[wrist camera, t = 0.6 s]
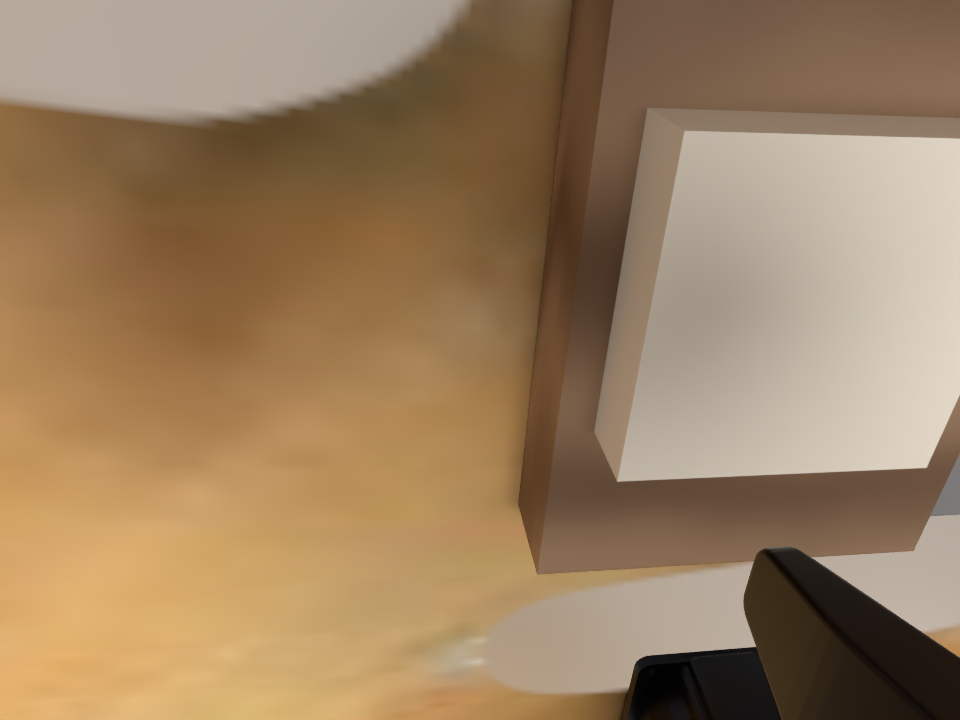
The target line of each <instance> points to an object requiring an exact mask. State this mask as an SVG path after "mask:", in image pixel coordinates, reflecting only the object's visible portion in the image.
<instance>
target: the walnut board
mask: <svg viewBox="0 0 960 720" xmlns="http://www.w3.org/2000/svg"><path fill="white" fill-rule="evenodd" d="M647 108H672V109H702V110H732V111H762V112H793V113H823V114H853V115H883V116H913V117H944V118H960V0H573V7H572V16H571V25H570V34H569V43H568V53H567V62H566V71H565V80H564V90H563V99H562V108H561V117H560V126H559V136H558V145H557V154H556V163H555V173H554V182H553V191H552V200H551V209H550V219H549V228H548V237H547V246H546V256H545V265H544V274H543V283H542V292H541V302H540V311H539V320H538V329H537V339H536V348H535V357H534V366H533V375H532V385H531V394H530V403H529V412H528V422H527V431H526V440H525V449H524V458H523V468H522V477H521V486H520V495H519V509H520V512H521V516H522V520H523V523H524V527H525V531H526V535H527V538H528V542H529V546H530V549H531V553H532V557H533V561H534V564H535V568H536V572H537V574H553V573H569V572H585V571H601V570H617V569H633V568H649V567H664V566H680V565H696V564H712V563H728V562H744V561H754V560H755V557H756V554H757V553H758V552H759V551H760V550H761V549H763V548H770V547H783V546H791V547H795V548H797V549H799V550H801V551H802V552H804V553H805V554H807V555H808V556H810V557H824V556H838V555H839V556H840V555H856V554H872V553H888V552H902V551H913V550H914V548H915V546H916V544H917V542H918V540H919V538H920V536H921V534H922V532H923V530H924V527H925V525H926V523H927V521H928V519H929V517H930V515H931V513H932V511H933V509H934V507H935V504H936V502H937V500H938V498H939V496H940V494H941V492H942V490H943V488H944V486H945V483H946V481H947V479H948V477H949V475H950V473H951V471H952V469H953V467H954V465H955V462H956V460H957V458H958V456H959V454H960V395H959V398H958V400H957V402H956V404H955V406H954V409H953V411H952V413H951V415H950V417H949V420H948V422H947V424H946V426H945V428H944V431H943V433H942V435H941V437H940V439H939V442H938V444H937V446H936V448H935V450H934V453H933V455H932V457H931V459H930V461H929V464H928V466H927V468H913V469H890V470H868V471H846V472H823V473H801V474H778V475H756V476H733V477H711V478H688V479H666V480H644V481H621V482H617V480H616V478H615V476H614V474H613V471H612V469H611V467H610V465H609V463H608V460H607V458H606V456H605V454H604V452H603V450H602V447H601V445H600V443H599V441H598V439H597V437H596V434H595V432H594V430H595V423H596V417H597V411H598V405H599V399H600V393H601V387H602V381H603V375H604V369H605V363H606V357H607V351H608V345H609V338H610V332H611V326H612V320H613V314H614V308H615V302H616V296H617V290H618V284H619V278H620V272H621V266H622V260H623V253H624V247H625V241H626V235H627V229H628V223H629V217H630V211H631V205H632V199H633V193H634V187H635V181H636V175H637V168H638V162H639V156H640V150H641V144H642V138H643V132H644V126H645V120H646V114H647Z"/></svg>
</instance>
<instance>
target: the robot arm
mask: <svg viewBox="0 0 960 720" xmlns="http://www.w3.org/2000/svg"><path fill="white" fill-rule="evenodd" d="M744 611H745V615H746V618H747V621H748V624H749V627H750V630H751V633H752V636H753V638H754V641H755V644H756V647H751V648H740V649H739V648H738V649H726V650H714V651H701V652H689V653H677V654H665V655H652V656H646V657H643V658H641V659H639V660H638V661H637V662H636V664H635V667H634V670H633V674H632V679H631V683H630V687H629V691H628V695H627V699H626V703H625V707H624V711H623V715H622V719H621V720H960V658H959V657H958V656H956V655H955V654H953V653H952V652H950V651H949V650H947V649H946V648H944V647H943V646H941V645H940V644H939V643H937V642H936V641H934V640H933V639H931V638H930V637H928V636H927V635H925V634H924V633H922V632H921V631H919V630H918V629H916V628H915V627H913V626H912V625H910V624H909V623H907V622H906V621H904V620H903V619H901V618H900V617H899V616H897V615H896V614H894V613H893V612H891V611H890V610H888V609H887V608H885V607H884V606H882V605H881V604H879V603H878V602H876V601H875V600H873V599H872V598H870V597H869V596H867V595H866V594H865V593H863V592H861V591H860V590H859V589H857V588H856V587H854V586H853V585H851V584H850V583H848V582H847V581H845V580H844V579H842V578H841V577H839V576H838V575H836V574H835V573H833V572H832V571H830V570H829V569H828V568H826V567H825V566H823V565H822V564H820V563H819V562H817V561H816V560H814V559H813V558H811V557H810V556H808V555H807V554H805V553H804V552H802V551H801V550H799V549H797V548H795V547H791V546H783V547H770V548H763V549H761V550H760V551H759V552H758V553H757V554H756V557H755V560H754V563H753V566H752V570H751V573H750V576H749V580H748V584H747V587H746V590H745V594H744Z"/></svg>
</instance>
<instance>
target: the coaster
mask: <svg viewBox="0 0 960 720" xmlns="http://www.w3.org/2000/svg"><path fill="white" fill-rule="evenodd" d="M959 395H960V118H944V117H913V116H883V115H853V114H823V113H793V112H762V111H732V110H702V109H672V108H647V114H646V120H645V126H644V132H643V138H642V144H641V150H640V156H639V162H638V168H637V175H636V181H635V187H634V193H633V199H632V205H631V211H630V217H629V223H628V229H627V235H626V241H625V247H624V253H623V260H622V266H621V272H620V278H619V284H618V290H617V296H616V302H615V308H614V314H613V320H612V326H611V332H610V338H609V345H608V351H607V357H606V363H605V369H604V375H603V381H602V387H601V393H600V399H599V405H598V411H597V417H596V423H595V430H594V432H595V434H596V437H597V439H598V441H599V443H600V445H601V447H602V450H603V452H604V454H605V456H606V458H607V460H608V463H609V465H610V467H611V469H612V471H613V474H614V476H615V478H616V480H617V482H621V481H644V480H666V479H688V478H711V477H733V476H756V475H778V474H801V473H823V472H846V471H868V470H890V469H913V468H927V466H928V464H929V461H930V459H931V457H932V455H933V453H934V450H935V448H936V446H937V444H938V442H939V439H940V437H941V435H942V433H943V431H944V428H945V426H946V424H947V422H948V420H949V417H950V415H951V413H952V411H953V409H954V406H955V404H956V402H957V400H958V398H959Z"/></svg>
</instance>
